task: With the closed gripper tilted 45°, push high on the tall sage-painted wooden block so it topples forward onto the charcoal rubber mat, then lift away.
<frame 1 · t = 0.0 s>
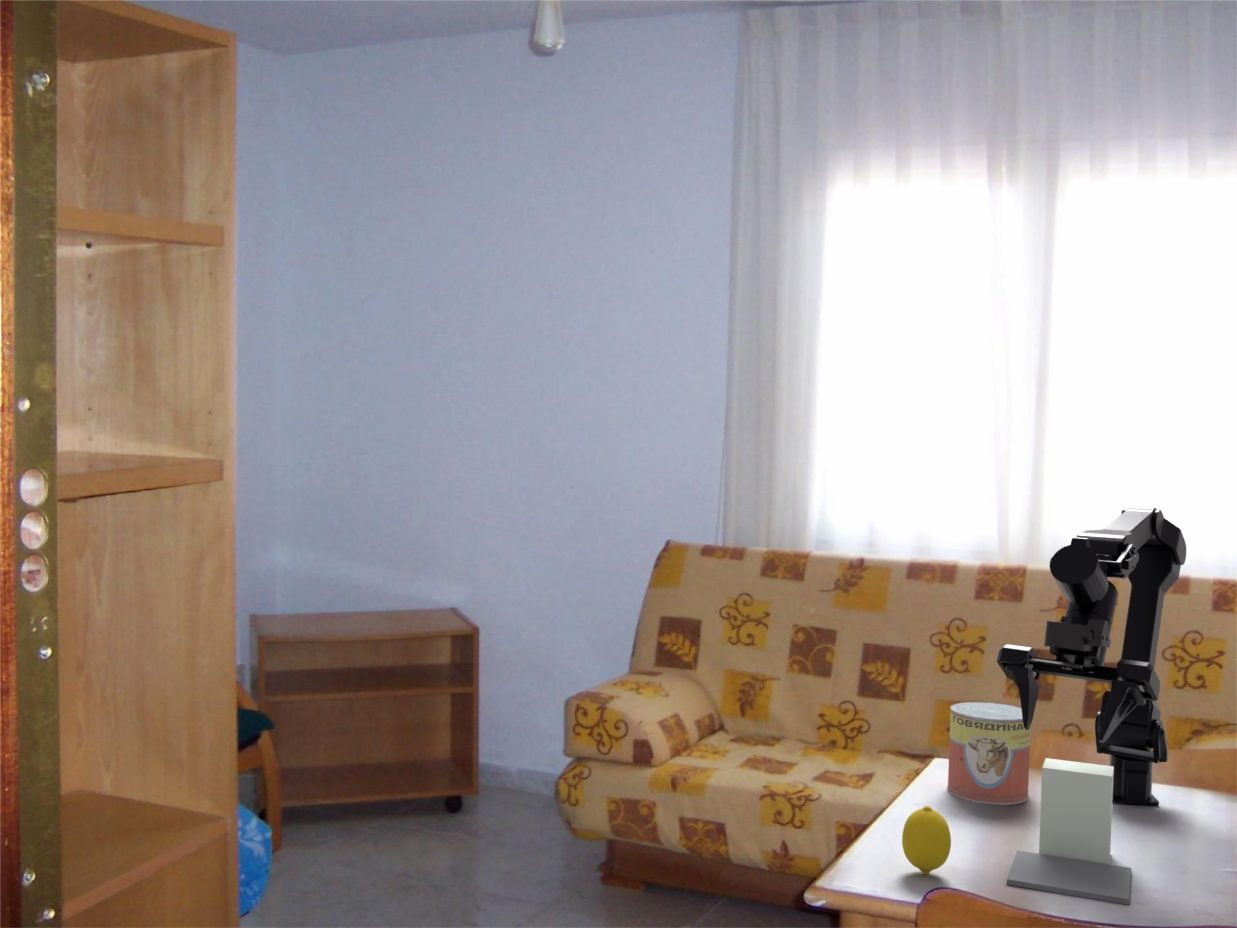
hand: (1063, 734, 153), 15 cm above the table, tool tilted 35°, fingers open, 9 cm apart
sage block: (1074, 855, 154), on the table
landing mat: (1070, 878, 145), on the table
canned food: (987, 794, 179), on the table
lemon: (925, 875, 146), on the table
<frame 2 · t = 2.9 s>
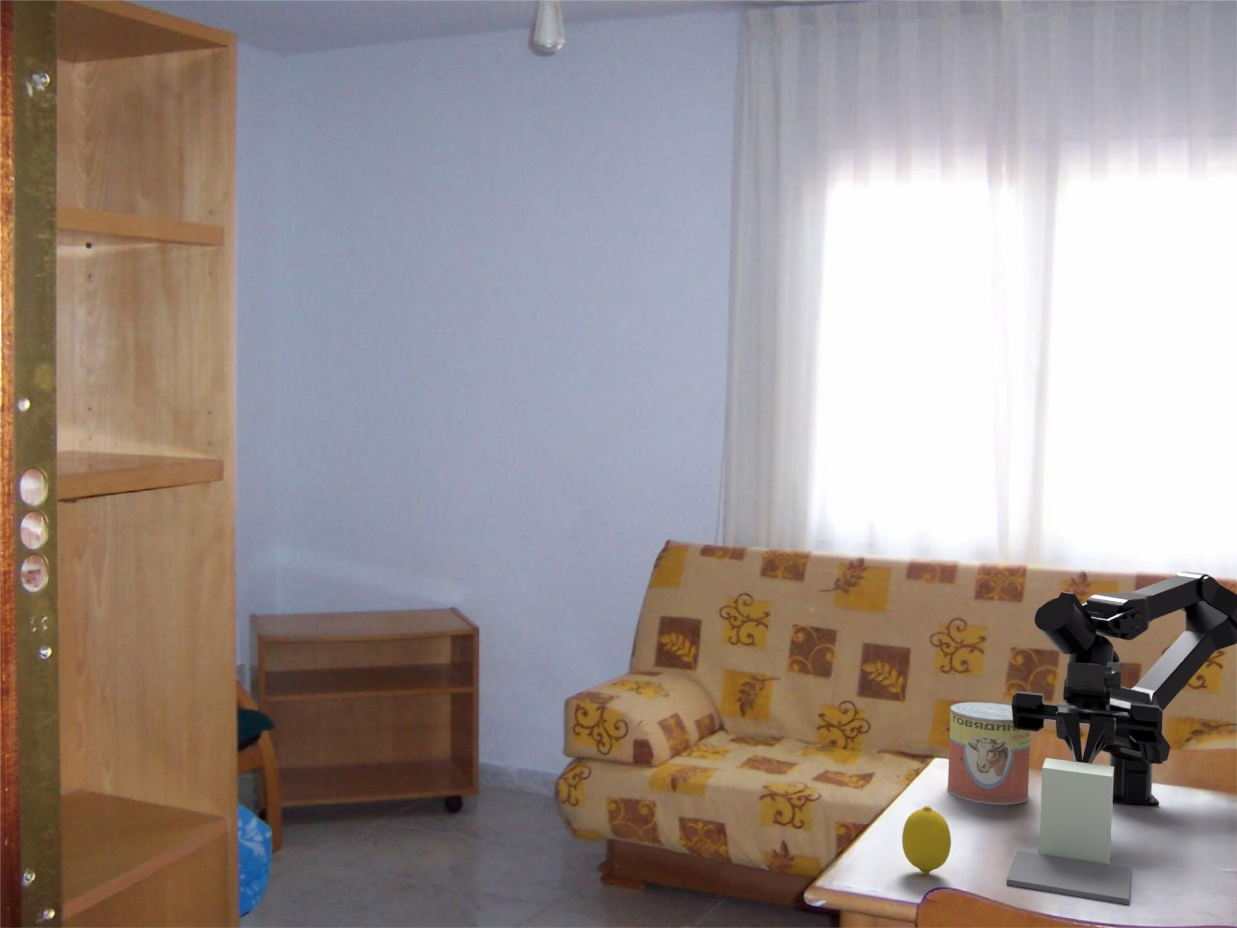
hand: (1081, 772, 161), 8 cm above the table, tool tilted 45°, fingers closed
nothing on the table moved.
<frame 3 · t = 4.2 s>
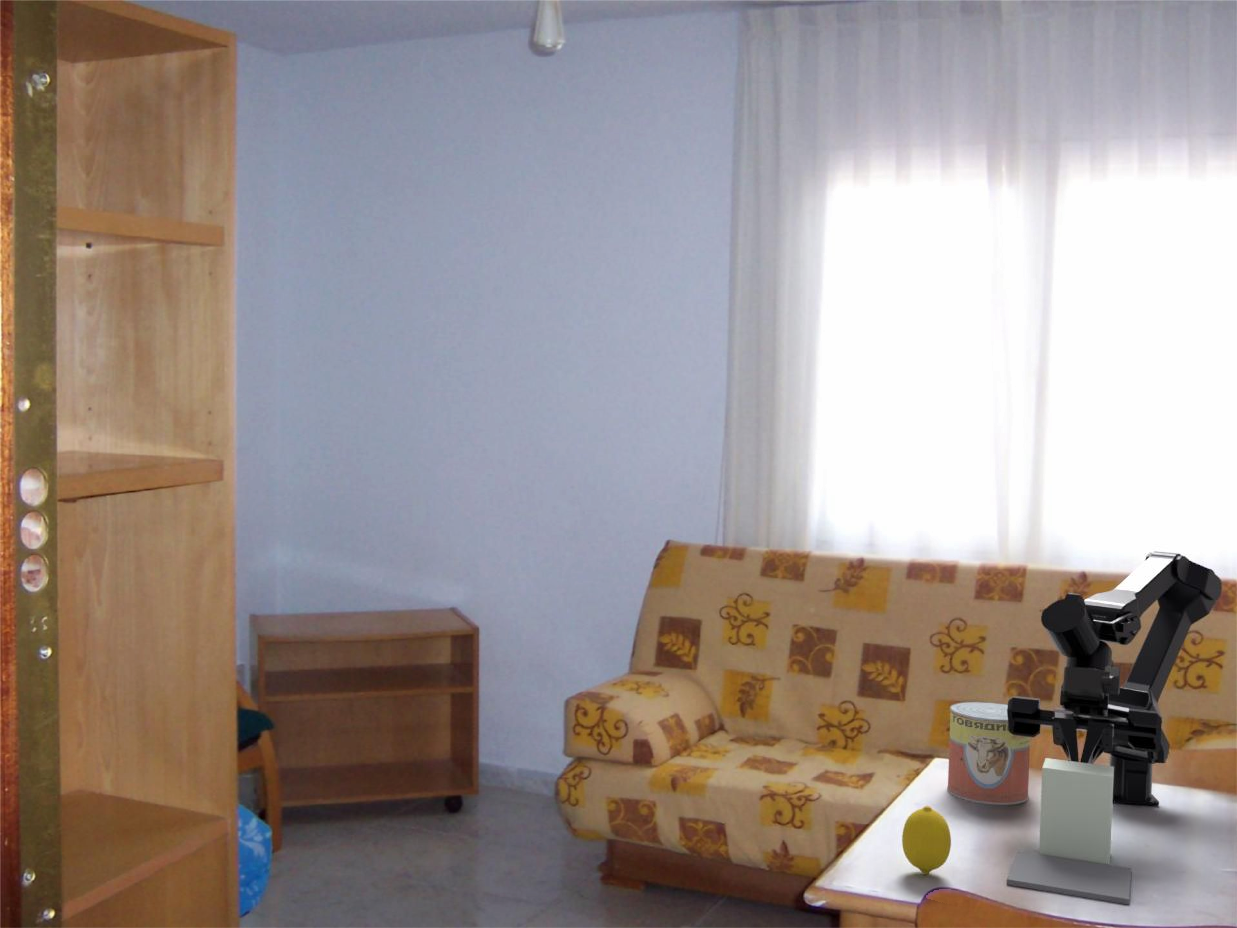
hand: (1078, 779, 157), 8 cm above the table, tool tilted 45°, fingers closed
nothing on the table moved.
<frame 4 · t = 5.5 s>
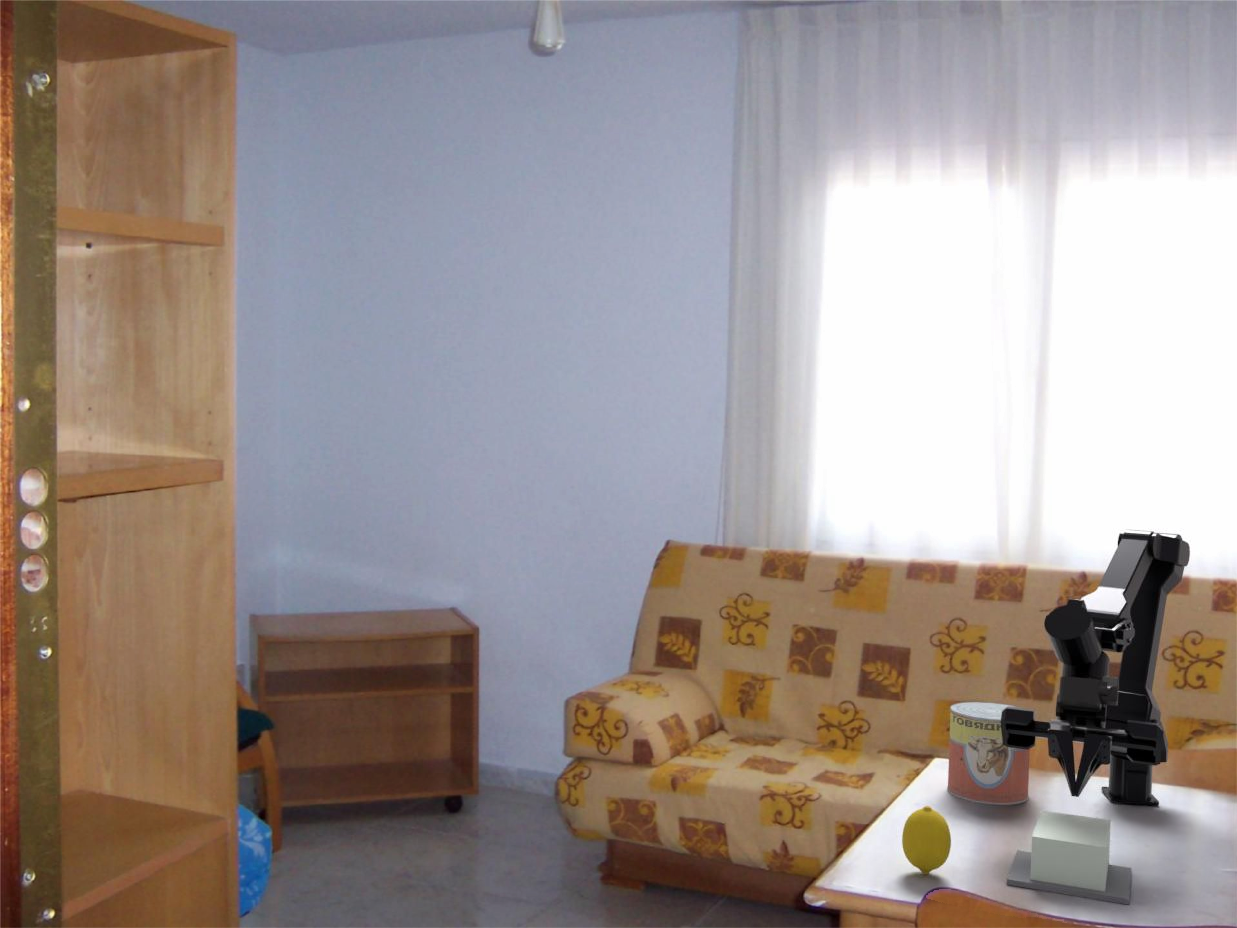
hand: (1074, 794, 150), 8 cm above the table, tool tilted 45°, fingers closed
sage block: (1074, 835, 151), point 3 cm above the table, tilted 90°, touching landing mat
everything else where it was.
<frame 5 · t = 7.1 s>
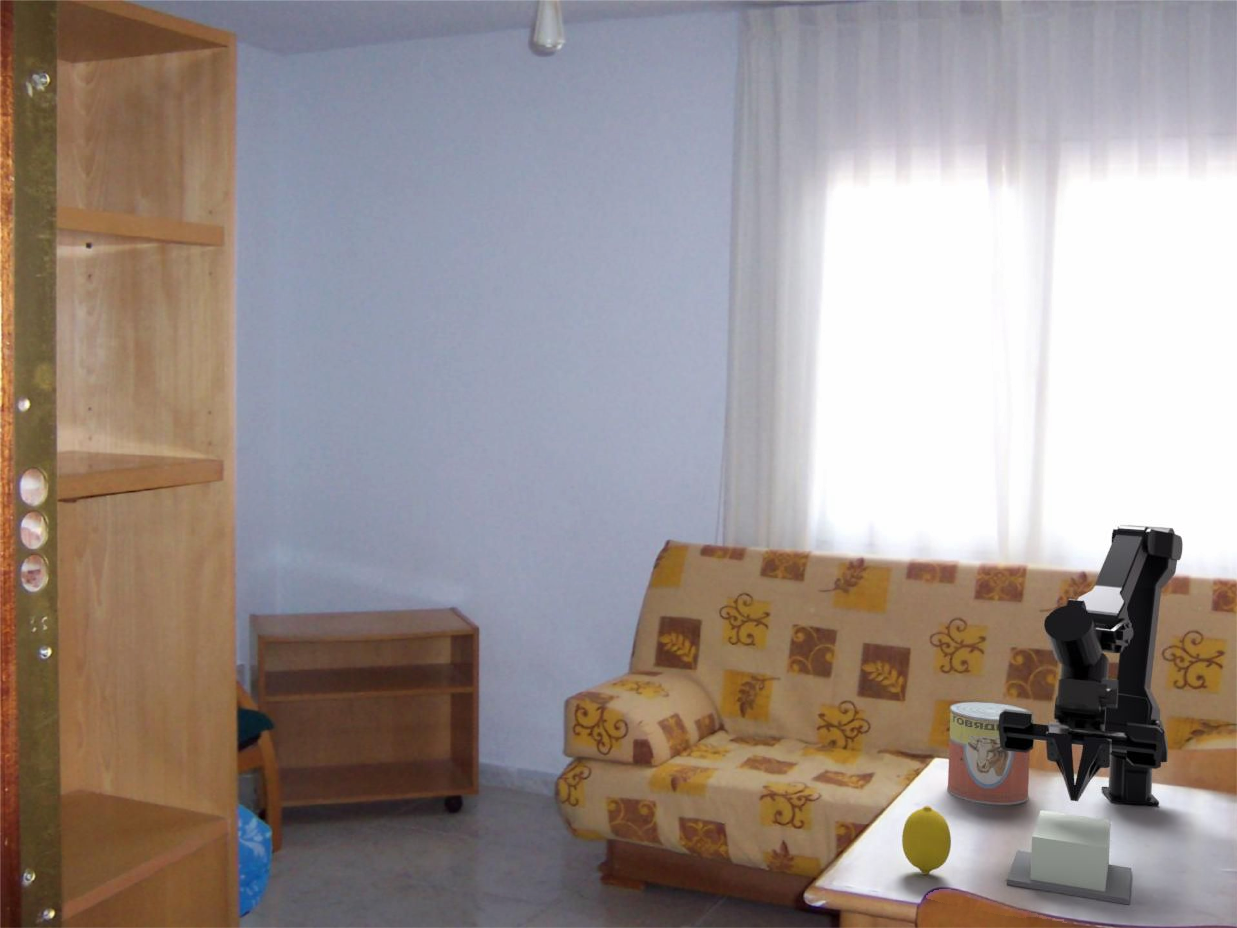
hand: (1074, 799, 148), 9 cm above the table, tool tilted 45°, fingers closed
nothing on the table moved.
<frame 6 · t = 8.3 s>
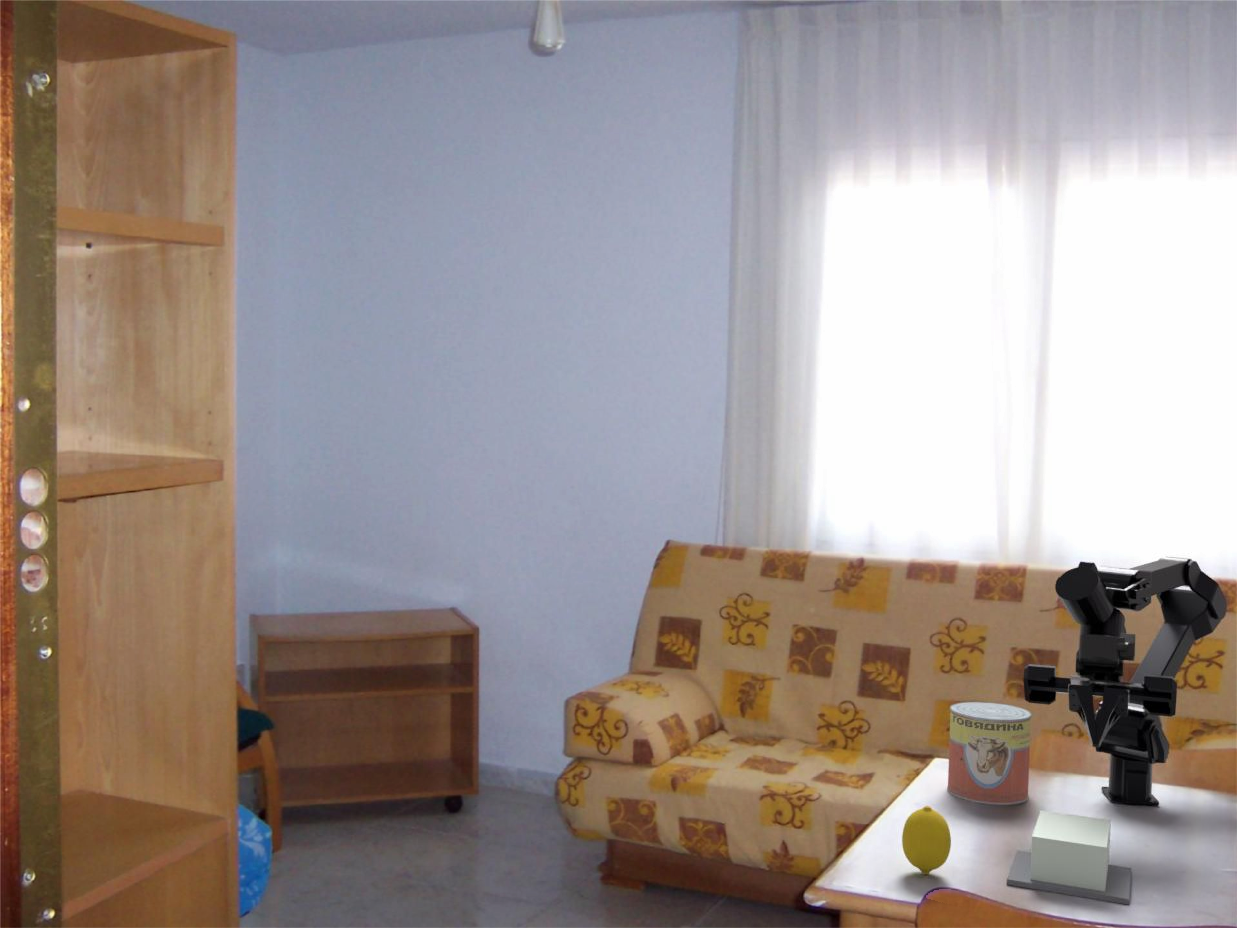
hand: (1095, 745, 159), 12 cm above the table, tool tilted 45°, fingers closed
nothing on the table moved.
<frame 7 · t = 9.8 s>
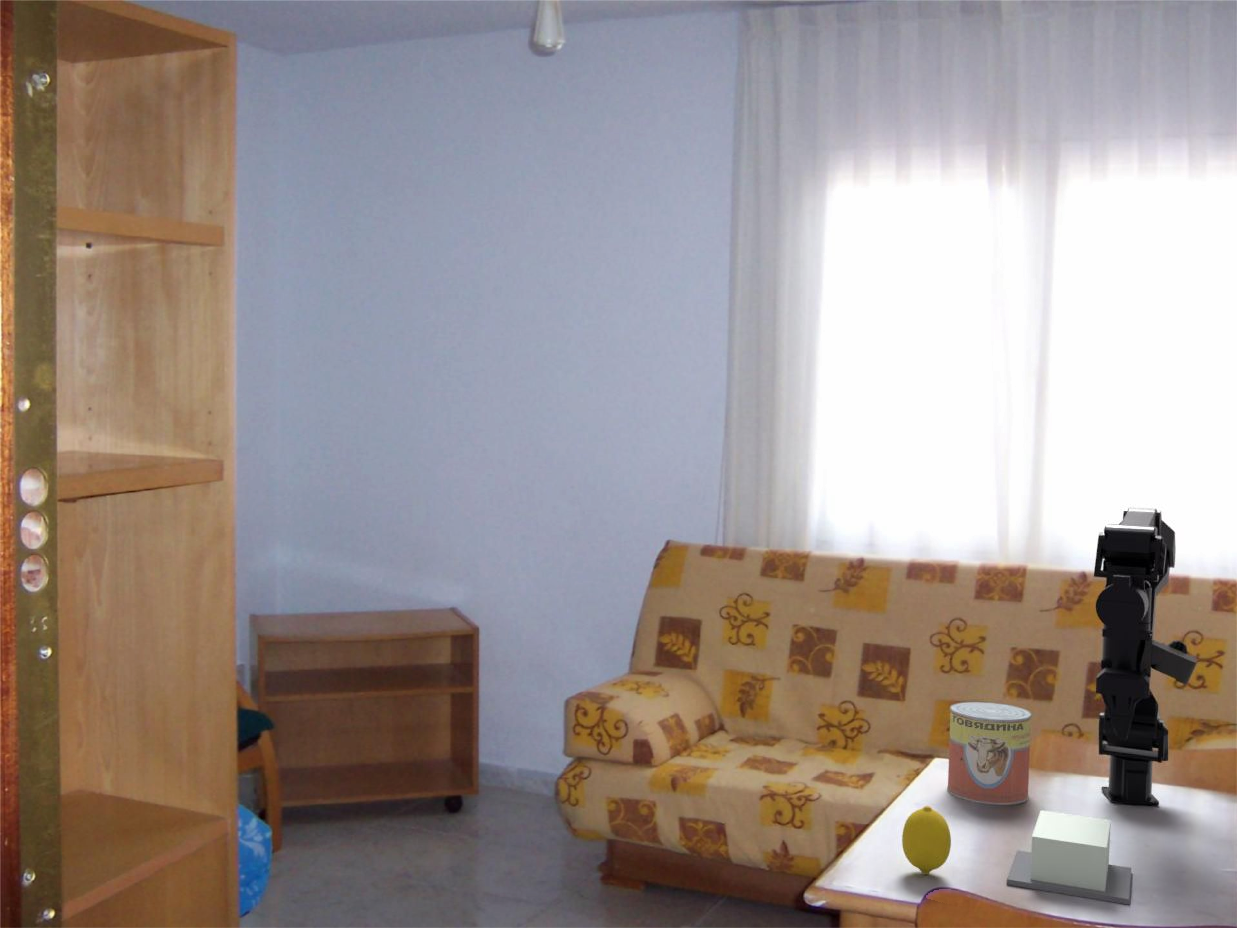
hand: (1122, 738, 164), 12 cm above the table, tool pointing down, fingers closed
nothing on the table moved.
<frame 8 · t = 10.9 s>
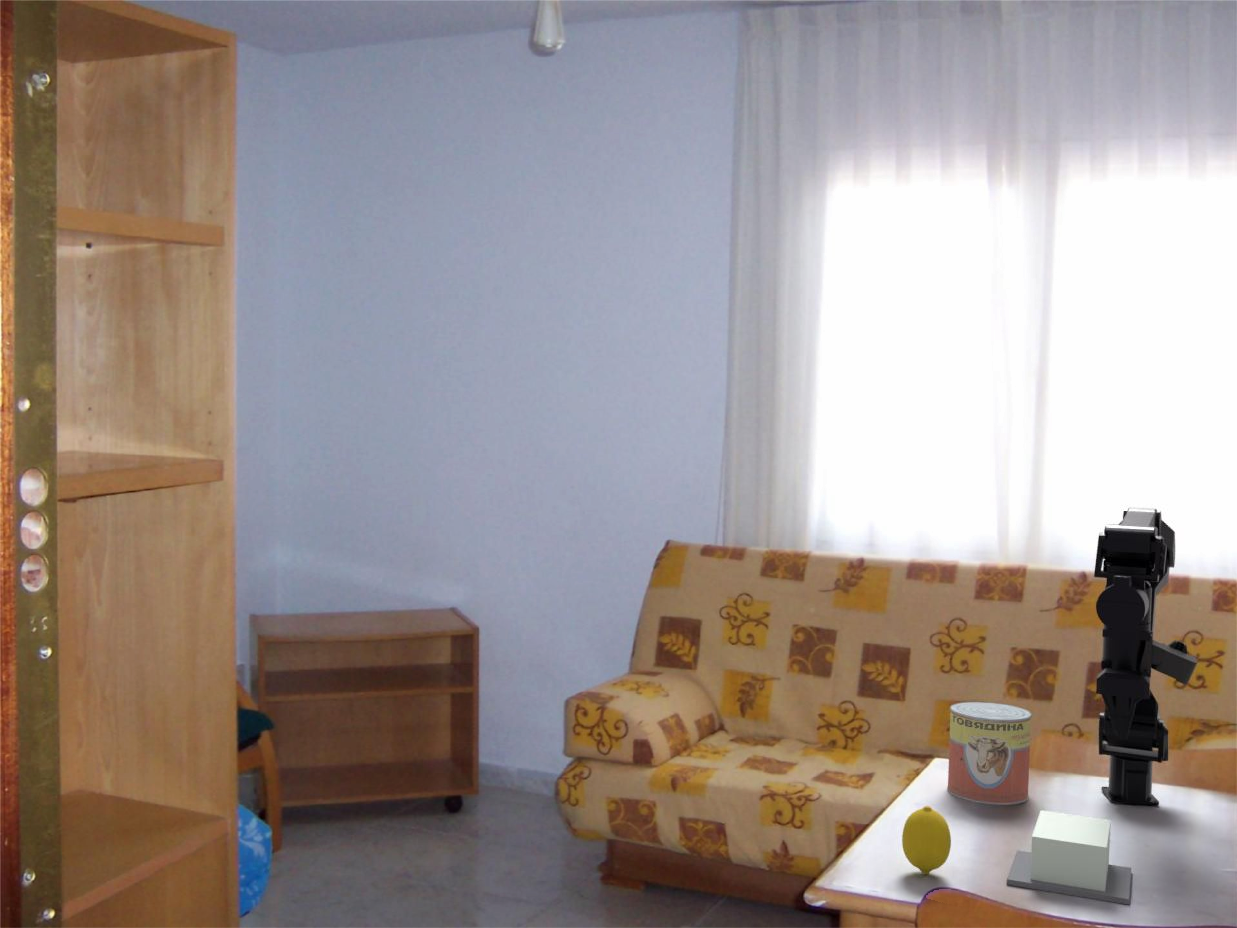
hand: (1122, 738, 164), 12 cm above the table, tool pointing down, fingers closed
nothing on the table moved.
at the end: sage block tilted 90°; sage block touching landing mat; the gripper is holding nothing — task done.
